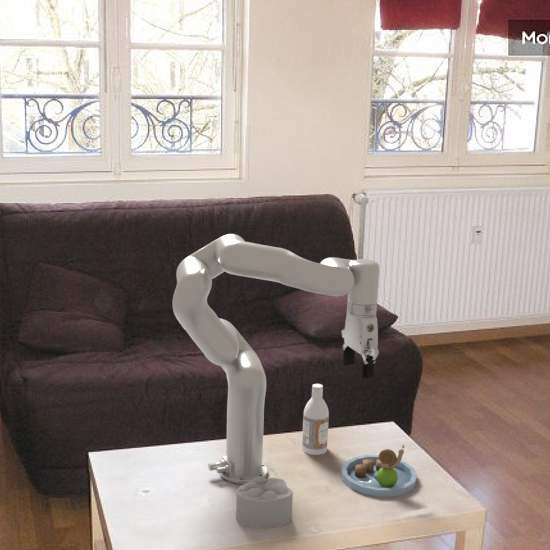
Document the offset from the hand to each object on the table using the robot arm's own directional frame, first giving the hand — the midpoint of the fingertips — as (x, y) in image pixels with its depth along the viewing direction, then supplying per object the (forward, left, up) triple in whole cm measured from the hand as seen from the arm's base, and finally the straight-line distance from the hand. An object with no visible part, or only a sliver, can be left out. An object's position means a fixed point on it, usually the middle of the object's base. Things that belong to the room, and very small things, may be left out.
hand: (357, 370), depth 230 cm
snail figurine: (+3, -14, -27) cm, 31 cm away
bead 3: (+6, -5, -27) cm, 28 cm away
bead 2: (+3, -4, -27) cm, 28 cm away
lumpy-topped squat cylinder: (-32, -13, -28) cm, 45 cm away
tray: (+3, -9, -28) cm, 30 cm away
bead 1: (-1, -6, -27) cm, 28 cm away
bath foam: (-5, +12, -28) cm, 31 cm away
